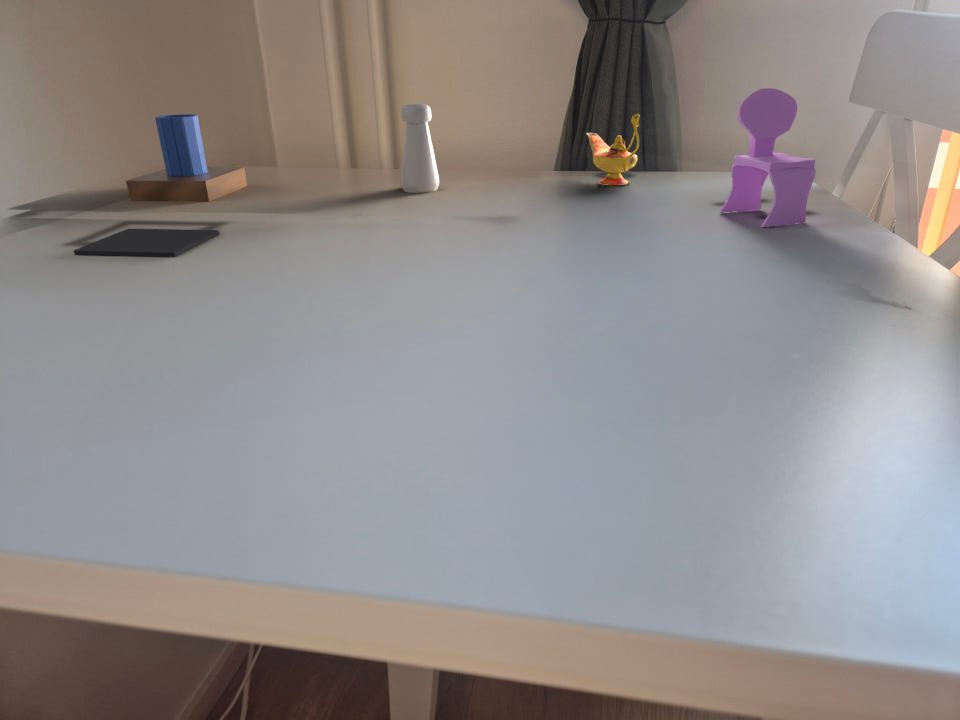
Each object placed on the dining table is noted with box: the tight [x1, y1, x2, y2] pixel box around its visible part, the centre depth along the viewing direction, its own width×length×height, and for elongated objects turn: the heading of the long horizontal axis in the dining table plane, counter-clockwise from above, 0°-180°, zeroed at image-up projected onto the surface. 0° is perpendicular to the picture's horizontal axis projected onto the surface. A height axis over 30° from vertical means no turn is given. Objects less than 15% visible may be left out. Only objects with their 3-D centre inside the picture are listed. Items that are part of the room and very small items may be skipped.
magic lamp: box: [585, 112, 641, 185], centre depth 107 cm, size 7×18×11 cm, turn 15°
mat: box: [73, 228, 220, 258], centre depth 79 cm, size 12×10×1 cm
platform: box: [125, 166, 248, 203], centre depth 101 cm, size 12×12×4 cm
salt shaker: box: [399, 103, 440, 194], centre depth 98 cm, size 6×6×13 cm
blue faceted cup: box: [154, 113, 208, 177], centre depth 98 cm, size 6×6×8 cm
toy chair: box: [719, 87, 816, 228], centre depth 81 cm, size 8×9×15 cm
